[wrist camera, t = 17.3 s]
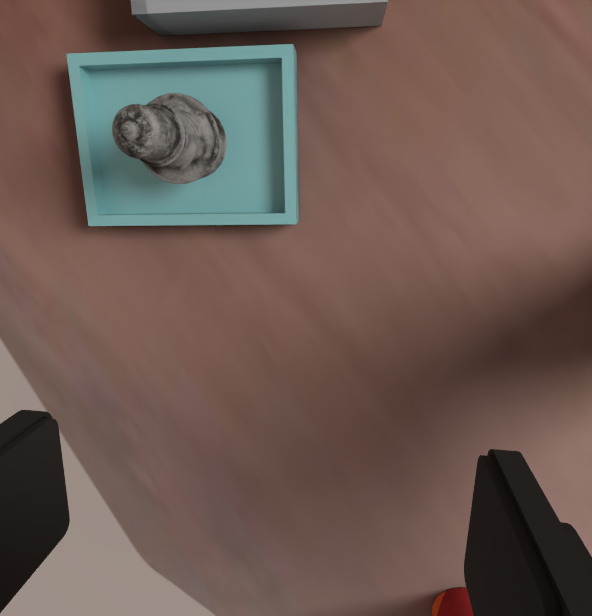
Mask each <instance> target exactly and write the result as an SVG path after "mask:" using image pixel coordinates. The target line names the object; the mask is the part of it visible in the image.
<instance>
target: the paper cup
mask: <svg viewBox="0 0 592 616" xmlns="http://www.w3.org/2000/svg"><path fill="white" fill-rule="evenodd" d="M432 616H474V615H473V611H472V607H471V603H470V599H469V595H468V591H467V588H463V587H459V588H452V589H449V590H446V591H444V592H443V593H441V594H440V595H439V596H438V597H437V598H436V599H435V601H434V603H433V605H432Z"/></svg>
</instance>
